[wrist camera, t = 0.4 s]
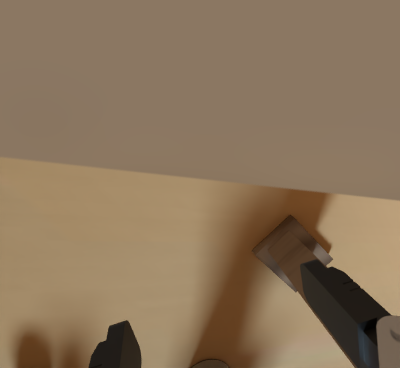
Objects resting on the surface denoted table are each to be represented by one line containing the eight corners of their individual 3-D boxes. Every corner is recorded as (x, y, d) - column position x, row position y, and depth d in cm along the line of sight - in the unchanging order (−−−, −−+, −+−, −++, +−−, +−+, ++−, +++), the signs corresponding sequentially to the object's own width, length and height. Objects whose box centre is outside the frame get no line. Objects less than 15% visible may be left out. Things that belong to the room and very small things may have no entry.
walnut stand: (328, 254, 50) (551, 454, 22) (291, 287, 51) (462, 518, 23) (290, 214, 47) (503, 396, 18) (252, 250, 47) (398, 475, 19)
